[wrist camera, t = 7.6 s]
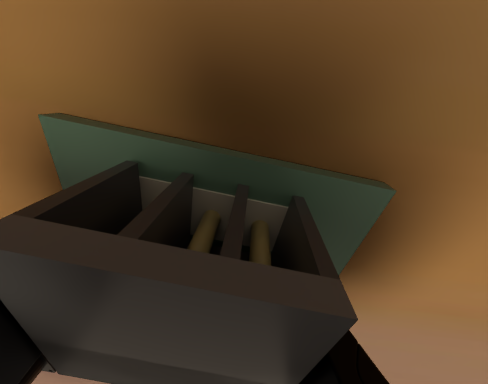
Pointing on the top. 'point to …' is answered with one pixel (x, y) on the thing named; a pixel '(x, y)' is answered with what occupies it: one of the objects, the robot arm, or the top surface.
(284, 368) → the plug
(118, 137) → the header board
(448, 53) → the top surface
